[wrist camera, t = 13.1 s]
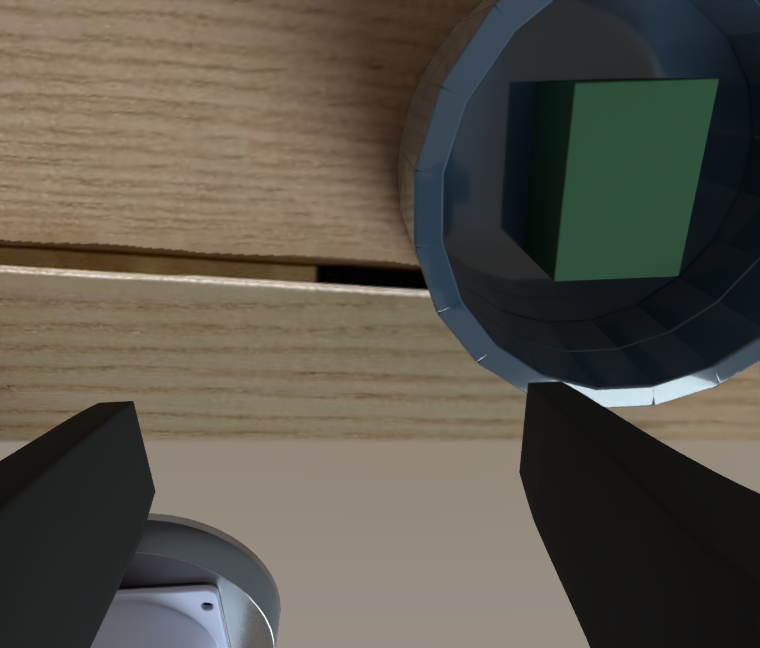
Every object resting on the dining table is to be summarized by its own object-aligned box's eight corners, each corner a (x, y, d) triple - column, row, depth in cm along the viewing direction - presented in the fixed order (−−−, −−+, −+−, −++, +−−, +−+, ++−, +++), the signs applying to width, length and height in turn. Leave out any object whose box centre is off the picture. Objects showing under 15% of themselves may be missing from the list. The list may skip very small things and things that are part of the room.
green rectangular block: (629, 246, 18) (679, 276, 15) (522, 250, 18) (553, 281, 15) (656, 78, 16) (720, 77, 13) (535, 81, 16) (574, 82, 13)
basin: (715, 324, 20) (823, 397, 15) (401, 339, 19) (415, 419, 15) (805, -52, 15) (1000, -109, 11) (394, -40, 15) (412, -94, 10)
